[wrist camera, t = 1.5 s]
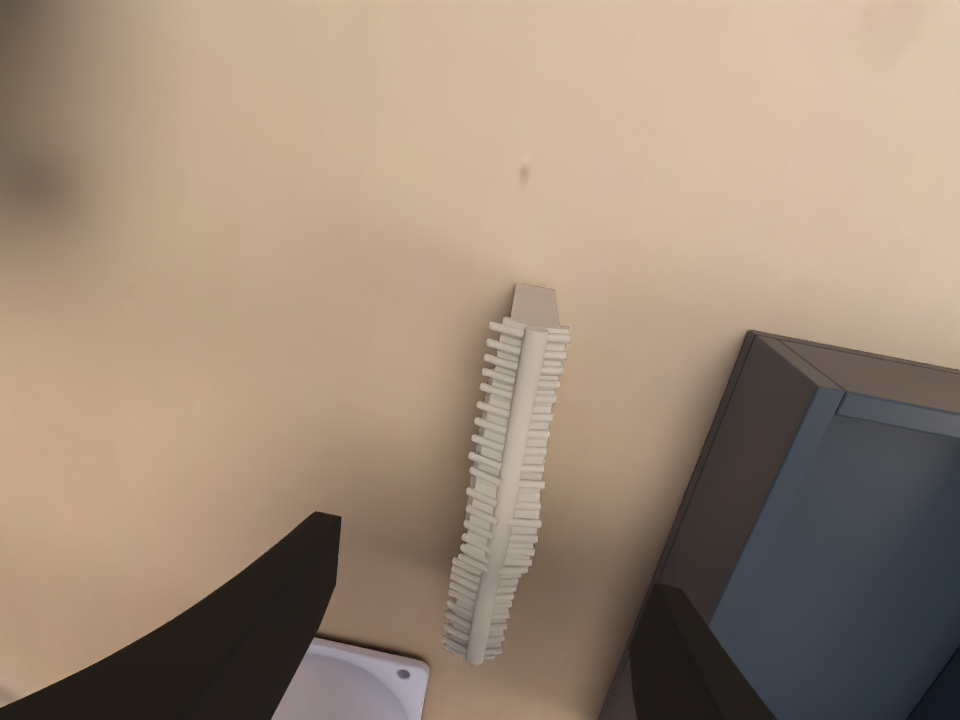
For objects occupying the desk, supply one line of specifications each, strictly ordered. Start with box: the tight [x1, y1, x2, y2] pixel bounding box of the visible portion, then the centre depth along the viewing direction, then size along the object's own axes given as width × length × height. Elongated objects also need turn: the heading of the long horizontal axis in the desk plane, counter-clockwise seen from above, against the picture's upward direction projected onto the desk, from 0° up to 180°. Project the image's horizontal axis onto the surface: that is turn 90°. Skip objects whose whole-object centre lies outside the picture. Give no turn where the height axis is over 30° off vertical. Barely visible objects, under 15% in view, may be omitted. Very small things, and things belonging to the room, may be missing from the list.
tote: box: [598, 330, 960, 720], centre depth 16 cm, size 11×17×4 cm, turn 170°
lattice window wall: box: [441, 283, 571, 665], centre depth 14 cm, size 12×2×6 cm, turn 172°
